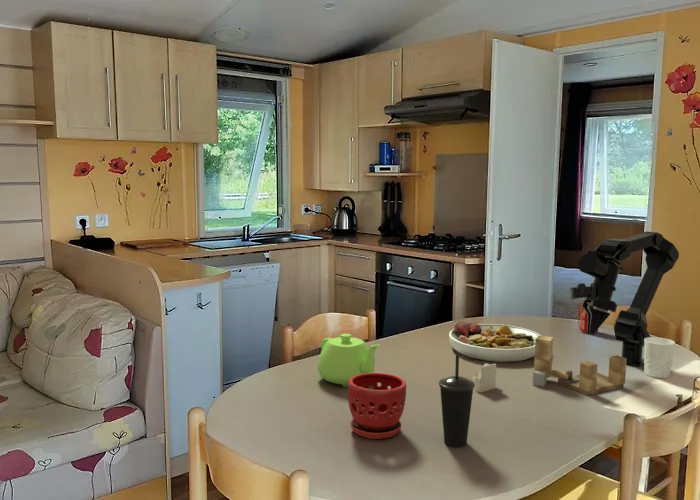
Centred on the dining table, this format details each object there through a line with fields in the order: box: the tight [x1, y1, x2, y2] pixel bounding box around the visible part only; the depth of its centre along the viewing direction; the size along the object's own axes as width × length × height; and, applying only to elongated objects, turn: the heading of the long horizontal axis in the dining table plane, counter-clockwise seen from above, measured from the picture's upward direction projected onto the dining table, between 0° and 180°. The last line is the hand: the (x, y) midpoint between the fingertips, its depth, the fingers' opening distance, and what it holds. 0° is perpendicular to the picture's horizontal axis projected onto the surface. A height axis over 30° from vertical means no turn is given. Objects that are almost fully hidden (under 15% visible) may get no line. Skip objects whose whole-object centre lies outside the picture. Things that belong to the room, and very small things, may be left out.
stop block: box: [532, 370, 547, 388], centre depth 173 cm, size 3×3×4 cm
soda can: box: [579, 298, 599, 334], centre depth 225 cm, size 6×6×12 cm
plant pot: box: [347, 372, 407, 440], centre depth 142 cm, size 13×13×12 cm
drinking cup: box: [438, 353, 475, 448], centre depth 136 cm, size 8×8×20 cm
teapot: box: [317, 333, 380, 388], centre depth 175 cm, size 22×15×13 cm
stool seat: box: [557, 354, 627, 396], centre depth 171 cm, size 14×10×8 cm
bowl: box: [448, 321, 542, 363], centre depth 204 cm, size 30×30×8 cm
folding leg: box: [533, 335, 573, 380], centre depth 174 cm, size 10×4×10 cm, turn 62°
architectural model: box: [471, 362, 499, 393], centre depth 170 cm, size 3×7×7 cm, turn 124°
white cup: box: [643, 336, 676, 379], centre depth 180 cm, size 8×8×10 cm
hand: (590, 334), depth 179 cm, fingers closed
